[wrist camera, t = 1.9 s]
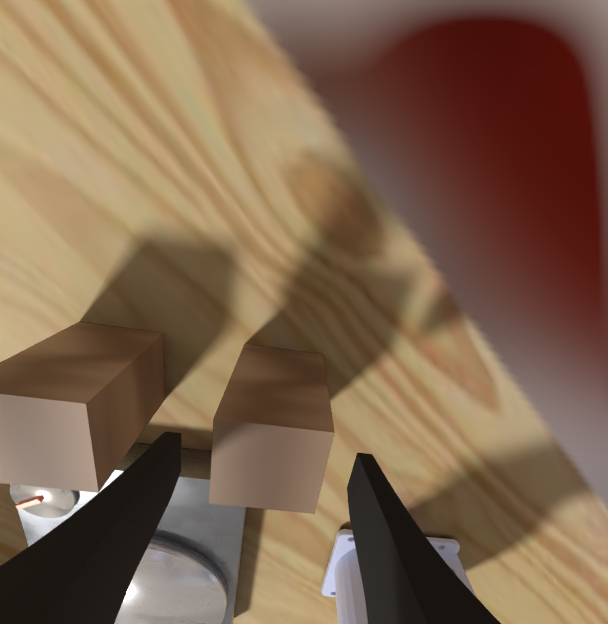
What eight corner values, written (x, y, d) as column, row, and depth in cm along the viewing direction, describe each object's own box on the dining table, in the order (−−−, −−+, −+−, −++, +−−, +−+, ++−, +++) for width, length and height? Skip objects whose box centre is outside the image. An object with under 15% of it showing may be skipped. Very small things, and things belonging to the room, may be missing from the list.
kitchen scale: (253, 456, 19) (245, 496, 16) (233, 619, 26) (225, 666, 23) (33, 432, 18) (-13, 471, 15) (74, 607, 25) (48, 654, 22)
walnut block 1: (163, 332, 16) (85, 403, 10) (165, 398, 17) (98, 492, 12) (79, 321, 15) (-50, 388, 10) (88, 389, 17) (-18, 481, 11)
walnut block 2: (323, 354, 16) (334, 432, 10) (310, 416, 18) (314, 513, 12) (244, 343, 16) (213, 418, 10) (239, 407, 17) (209, 503, 12)
